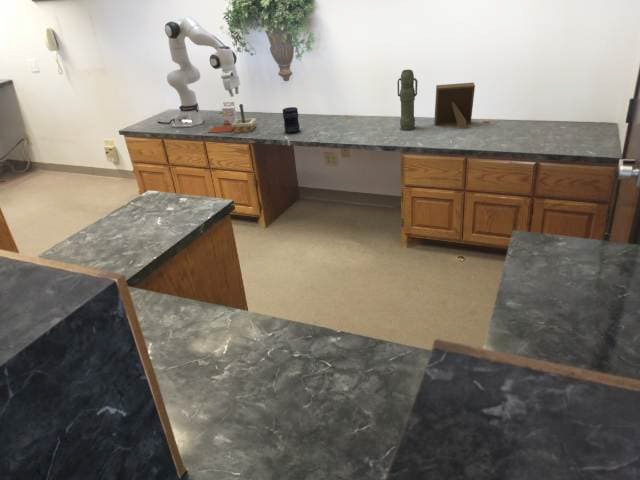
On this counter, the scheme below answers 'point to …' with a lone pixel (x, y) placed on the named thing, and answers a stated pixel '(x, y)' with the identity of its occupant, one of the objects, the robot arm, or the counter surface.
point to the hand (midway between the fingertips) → (234, 95)
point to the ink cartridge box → (229, 112)
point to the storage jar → (291, 120)
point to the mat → (221, 129)
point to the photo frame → (454, 104)
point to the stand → (243, 129)
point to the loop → (235, 123)
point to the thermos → (407, 99)
